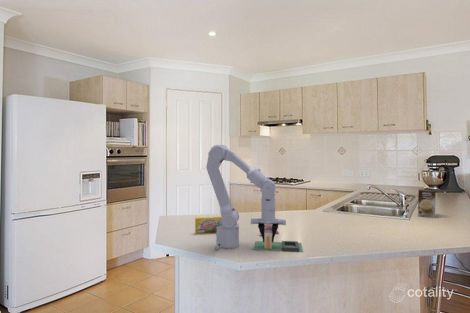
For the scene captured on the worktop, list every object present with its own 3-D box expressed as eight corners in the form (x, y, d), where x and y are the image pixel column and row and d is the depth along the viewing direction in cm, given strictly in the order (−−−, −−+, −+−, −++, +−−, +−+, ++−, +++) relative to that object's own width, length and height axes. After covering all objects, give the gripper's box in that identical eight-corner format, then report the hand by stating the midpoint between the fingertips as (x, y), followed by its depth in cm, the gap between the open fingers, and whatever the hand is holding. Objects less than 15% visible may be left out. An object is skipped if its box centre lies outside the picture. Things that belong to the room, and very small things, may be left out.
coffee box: (417, 216, 190) (417, 190, 189) (417, 214, 195) (418, 189, 195) (435, 218, 185) (435, 191, 184) (435, 216, 190) (435, 190, 190)
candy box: (195, 235, 151) (195, 218, 151) (195, 233, 153) (195, 217, 153) (227, 233, 154) (227, 216, 154) (227, 231, 156) (227, 215, 156)
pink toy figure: (273, 237, 152) (267, 223, 153) (280, 234, 149) (274, 220, 151) (261, 242, 144) (256, 227, 146) (269, 239, 141) (263, 224, 143)
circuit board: (252, 252, 125) (252, 249, 125) (255, 243, 137) (255, 241, 137) (303, 254, 122) (303, 252, 122) (301, 245, 134) (301, 243, 134)
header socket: (281, 251, 123) (281, 247, 123) (281, 244, 132) (281, 240, 132) (299, 252, 122) (299, 248, 122) (297, 244, 131) (297, 241, 131)
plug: (264, 249, 126) (264, 233, 126) (264, 245, 131) (264, 230, 131) (271, 249, 126) (271, 233, 125) (272, 245, 130) (272, 230, 130)
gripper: (249, 210, 125) (250, 243, 126) (286, 211, 123) (286, 245, 124) (251, 207, 132) (251, 238, 133) (285, 208, 130) (285, 240, 130)
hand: (268, 241), depth 129 cm, fingers closed on plug, 3 cm apart
